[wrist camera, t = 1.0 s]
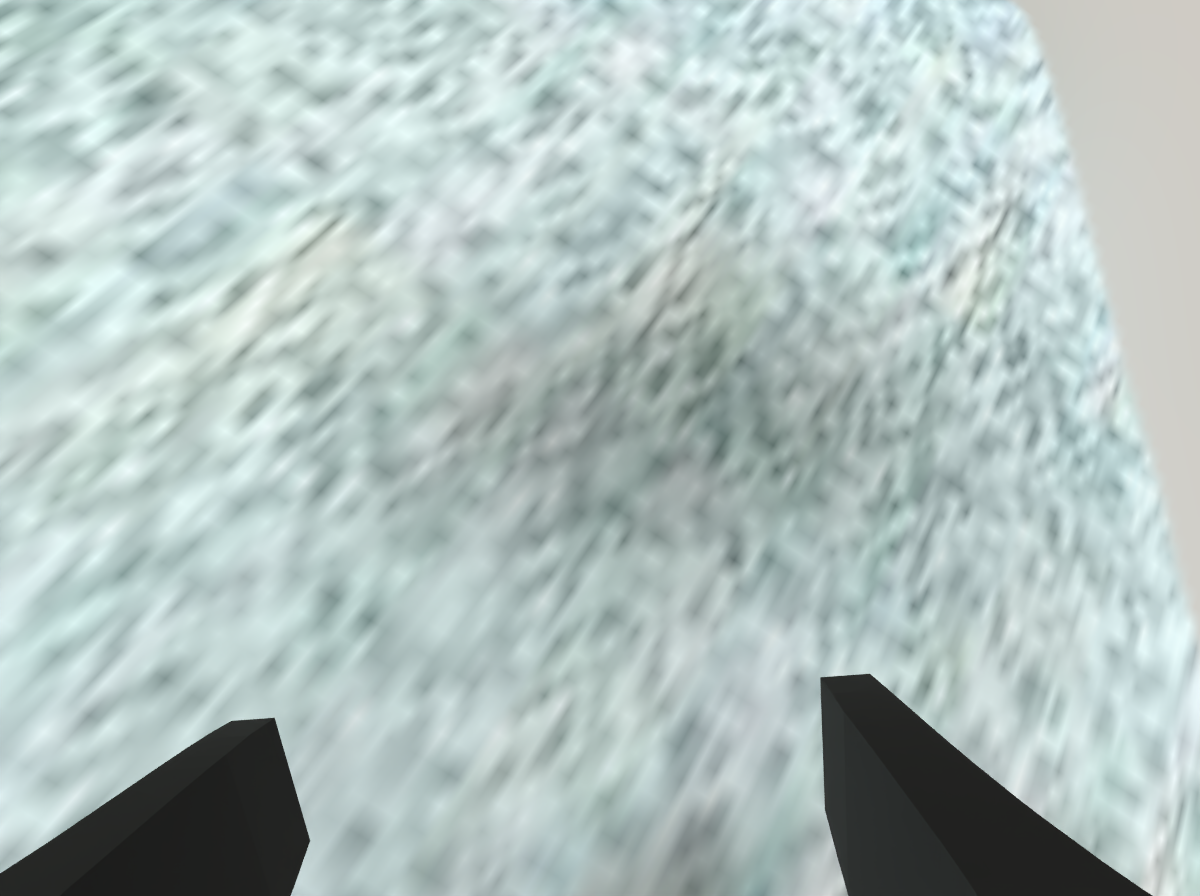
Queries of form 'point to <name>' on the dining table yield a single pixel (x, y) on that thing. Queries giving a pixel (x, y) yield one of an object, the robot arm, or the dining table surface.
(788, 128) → the dining table surface
